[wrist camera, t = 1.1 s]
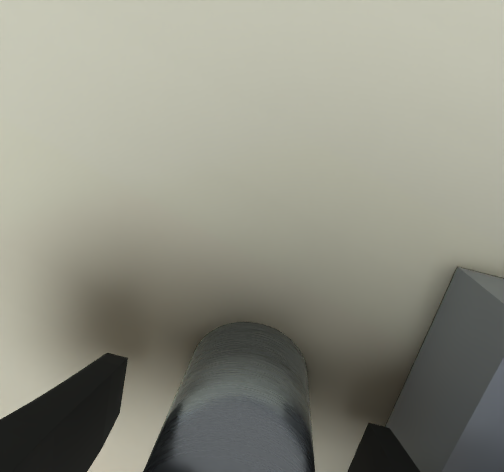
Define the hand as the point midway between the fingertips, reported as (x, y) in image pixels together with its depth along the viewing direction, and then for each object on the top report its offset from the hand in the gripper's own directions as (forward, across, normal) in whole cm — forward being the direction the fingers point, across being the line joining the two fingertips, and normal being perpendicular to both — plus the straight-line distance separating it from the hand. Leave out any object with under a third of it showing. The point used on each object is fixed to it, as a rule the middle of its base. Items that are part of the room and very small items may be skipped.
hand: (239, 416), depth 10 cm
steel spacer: (+2, 0, 0) cm, 2 cm away
